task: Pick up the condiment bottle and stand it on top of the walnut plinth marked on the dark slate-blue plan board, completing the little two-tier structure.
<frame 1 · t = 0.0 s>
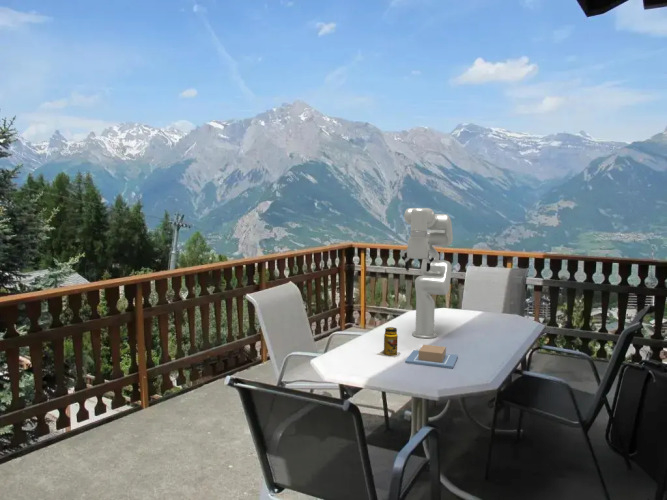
hand: (417, 270, 239), 37 cm above the table, tool pointing down, fingers open, 9 cm apart
plan board: (432, 360, 222), on the table
condiment: (388, 354, 230), on the table
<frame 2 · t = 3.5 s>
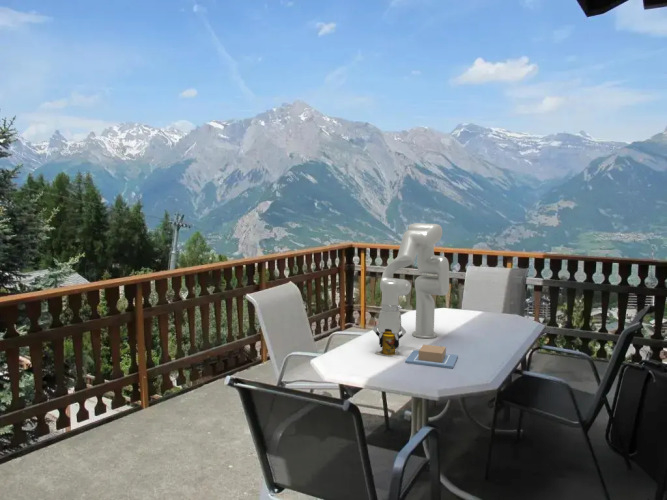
hand: (388, 346, 230), 3 cm above the table, tool pointing down, fingers closed on condiment, 6 cm apart
condiment: (387, 353, 231), on the table, touching gripper
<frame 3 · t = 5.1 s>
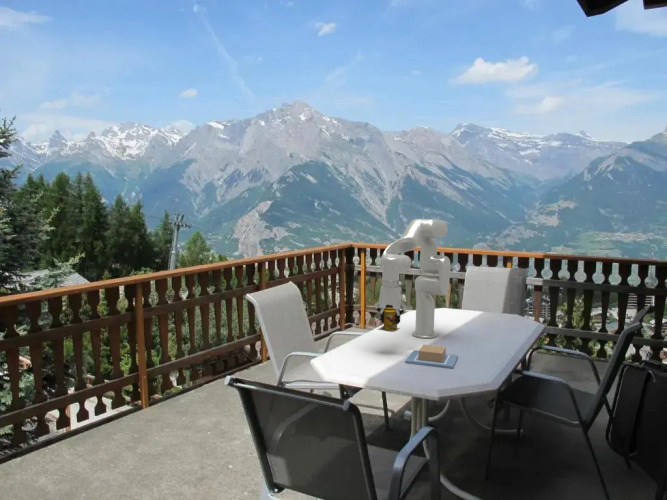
hand: (390, 322, 230), 14 cm above the table, tool pointing down, fingers closed on condiment, 6 cm apart
condiment: (388, 329, 231), point 11 cm above the table, touching gripper
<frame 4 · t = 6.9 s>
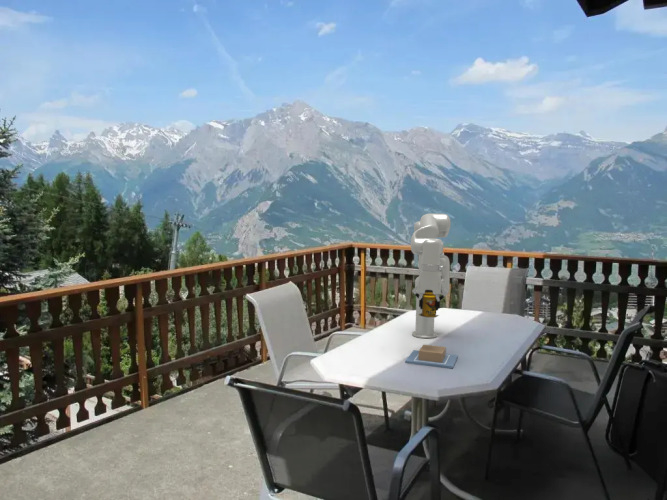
hand: (429, 308, 221), 23 cm above the table, tool pointing down, fingers closed on condiment, 6 cm apart
condiment: (427, 316, 221), point 19 cm above the table, touching gripper
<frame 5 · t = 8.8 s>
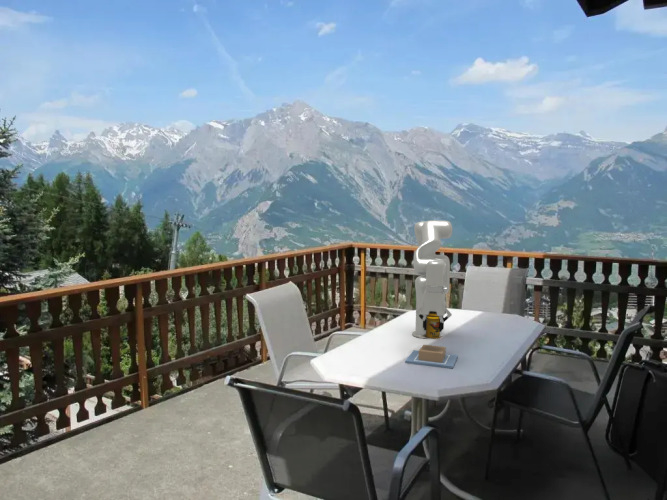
hand: (433, 330, 220), 13 cm above the table, tool pointing down, fingers closed on condiment, 6 cm apart
condiment: (431, 337, 221), point 10 cm above the table, touching gripper
when the fingers open (9 cm above the table, at t = 10.1 s): condiment drops 1 cm, resting on plan board.
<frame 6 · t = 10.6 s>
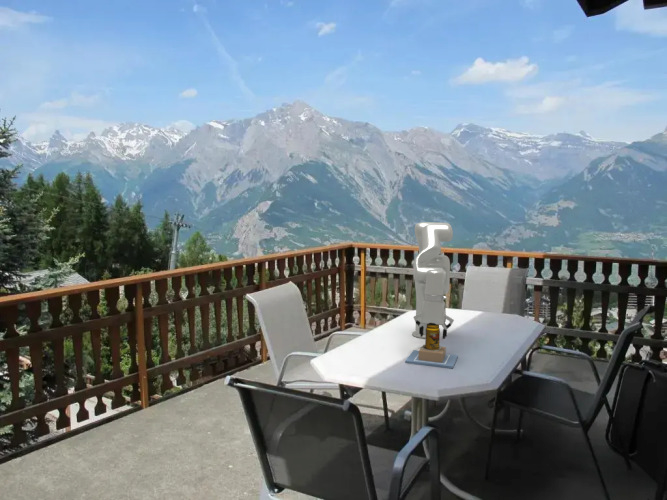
hand: (432, 336, 221), 10 cm above the table, tool pointing down, fingers open, 9 cm apart
condiment: (430, 348, 222), point 5 cm above the table, touching plan board
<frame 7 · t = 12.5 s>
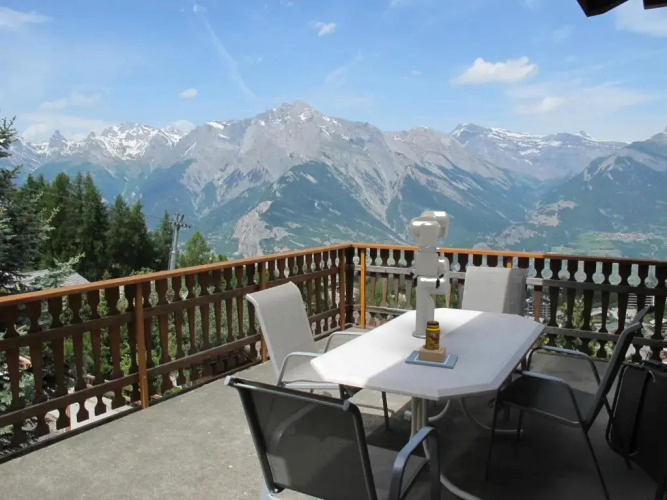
hand: (426, 287, 229), 31 cm above the table, tool pointing down, fingers open, 9 cm apart
nothing on the table moved.
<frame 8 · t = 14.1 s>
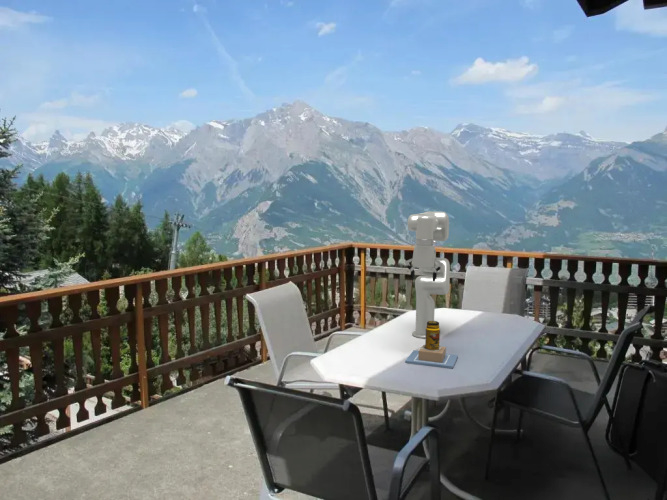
hand: (423, 280, 233), 33 cm above the table, tool pointing down, fingers open, 9 cm apart
nothing on the table moved.
at the end: condiment 1.1 cm off-centre on the plan board, point 4.8 cm above the plan board's base; condiment tilted 0°; the gripper is holding nothing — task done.
